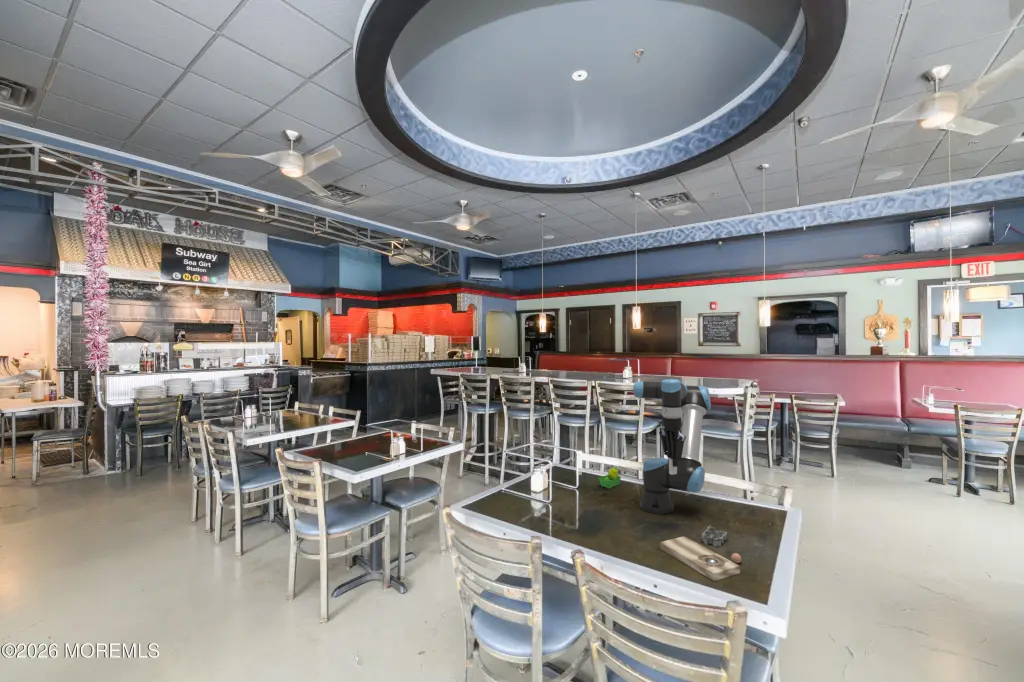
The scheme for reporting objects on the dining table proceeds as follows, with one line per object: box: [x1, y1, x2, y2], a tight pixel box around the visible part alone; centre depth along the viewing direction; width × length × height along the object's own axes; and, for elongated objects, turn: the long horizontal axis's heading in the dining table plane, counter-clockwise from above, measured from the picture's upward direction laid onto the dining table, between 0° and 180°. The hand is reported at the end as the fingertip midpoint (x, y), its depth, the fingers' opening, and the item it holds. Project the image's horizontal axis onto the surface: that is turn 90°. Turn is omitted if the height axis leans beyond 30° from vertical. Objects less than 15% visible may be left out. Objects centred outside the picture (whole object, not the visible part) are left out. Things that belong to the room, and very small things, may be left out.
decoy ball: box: [730, 552, 742, 564], centre depth 153 cm, size 3×3×3 cm
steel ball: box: [707, 559, 717, 564], centre depth 149 cm, size 3×3×3 cm
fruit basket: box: [598, 466, 622, 489], centre depth 237 cm, size 11×9×11 cm
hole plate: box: [659, 536, 741, 582], centre depth 155 cm, size 12×25×2 cm, turn 23°
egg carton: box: [700, 524, 728, 547], centre depth 170 cm, size 11×8×4 cm
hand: (673, 473), depth 178 cm, fingers closed
